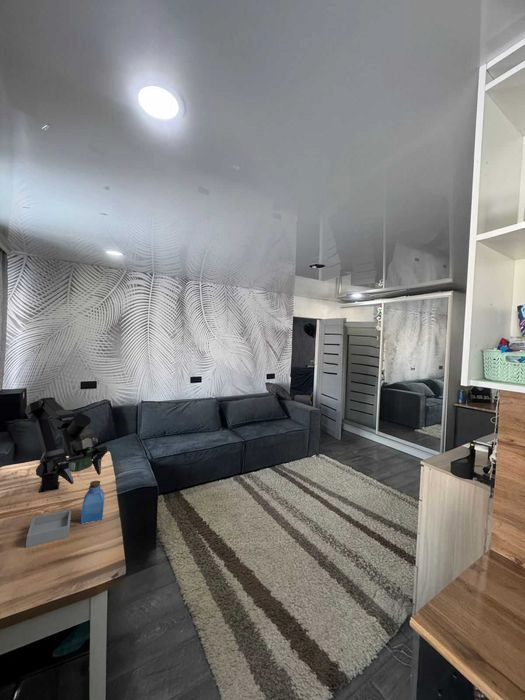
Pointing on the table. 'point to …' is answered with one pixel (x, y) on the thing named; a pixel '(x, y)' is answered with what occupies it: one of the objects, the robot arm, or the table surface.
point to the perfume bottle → (93, 503)
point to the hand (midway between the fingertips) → (86, 478)
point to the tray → (48, 528)
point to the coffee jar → (85, 462)
